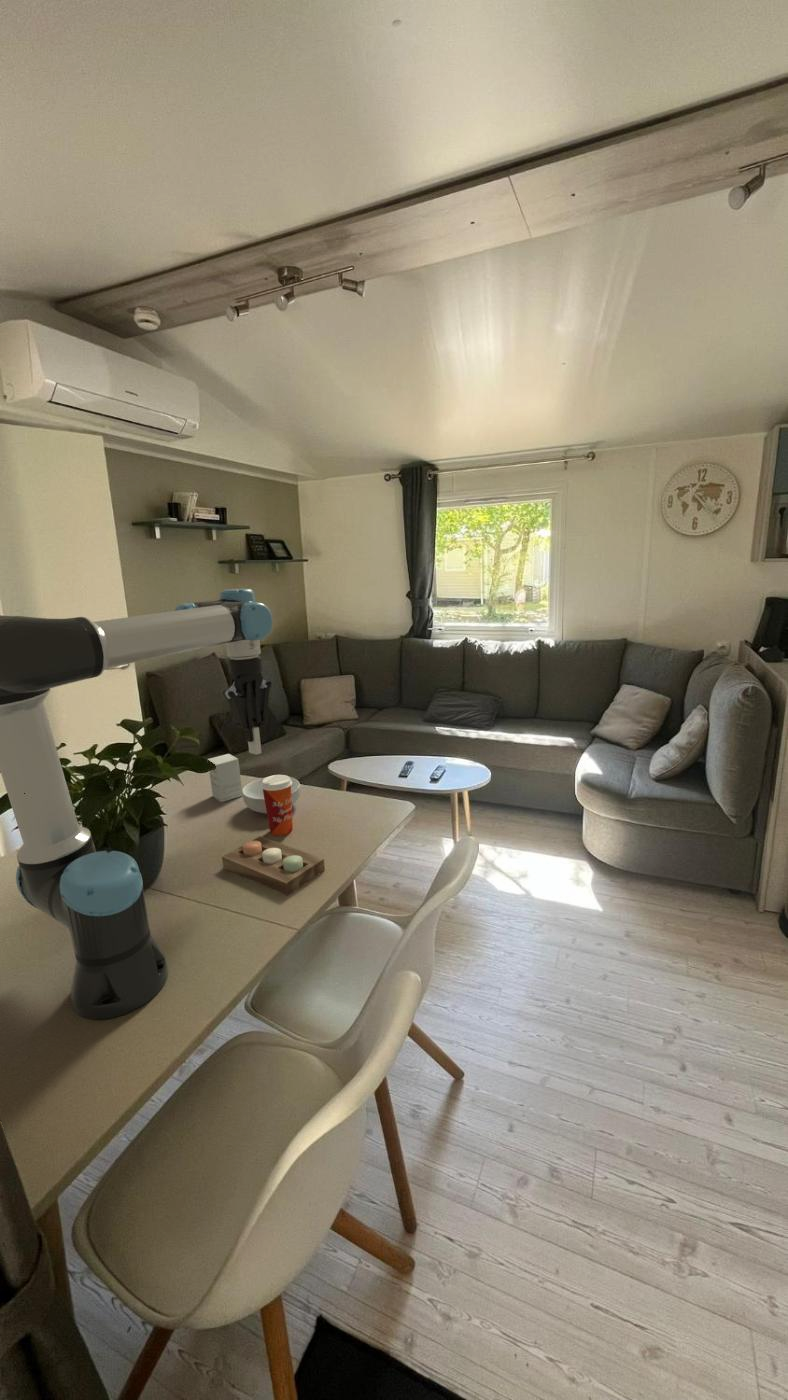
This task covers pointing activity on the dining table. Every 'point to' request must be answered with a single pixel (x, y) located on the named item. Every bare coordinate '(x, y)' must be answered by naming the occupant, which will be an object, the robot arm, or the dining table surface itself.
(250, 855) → the brown egg
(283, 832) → the coffee cup
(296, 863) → the pale green rounded block
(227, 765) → the supplement box
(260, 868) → the walnut panel
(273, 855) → the cream rounded piece
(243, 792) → the cereal bowl
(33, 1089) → the dining table surface
